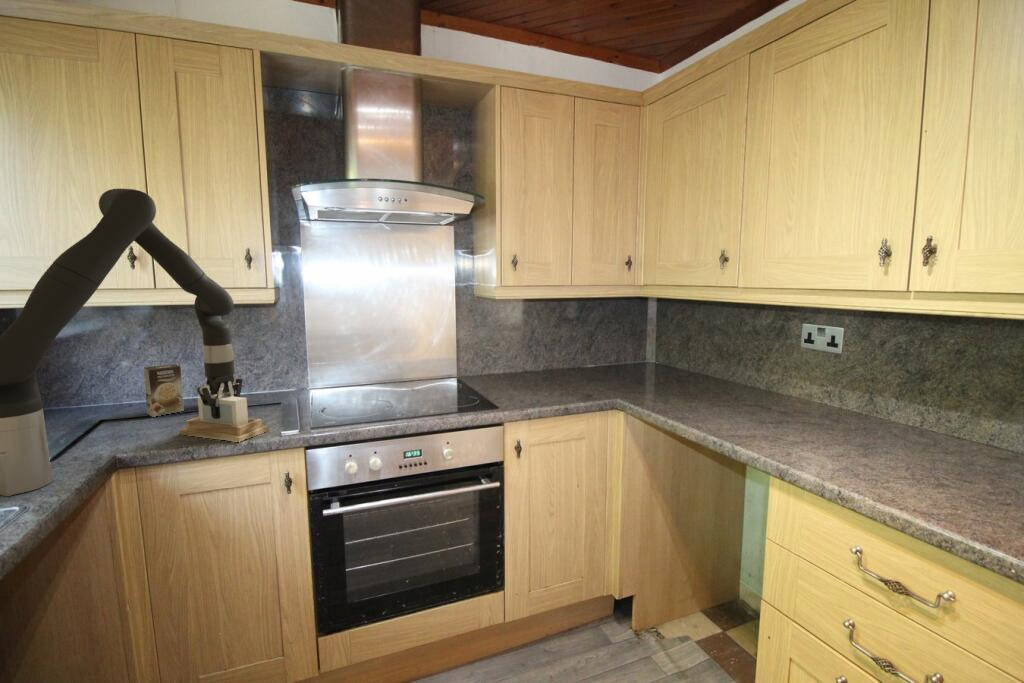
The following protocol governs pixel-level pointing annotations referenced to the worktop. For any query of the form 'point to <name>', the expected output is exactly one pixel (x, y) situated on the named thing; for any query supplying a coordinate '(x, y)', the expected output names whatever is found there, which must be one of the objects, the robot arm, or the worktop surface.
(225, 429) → the wooden tray
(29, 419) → the robot arm
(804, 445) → the worktop surface
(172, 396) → the coffee box
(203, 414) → the cream rectangular block
